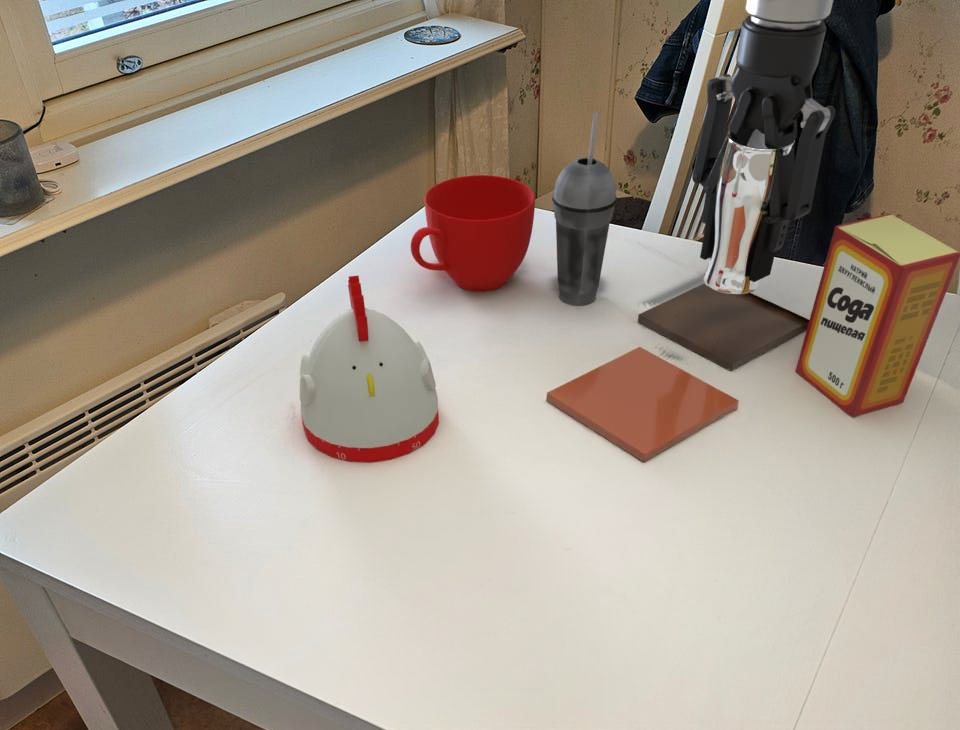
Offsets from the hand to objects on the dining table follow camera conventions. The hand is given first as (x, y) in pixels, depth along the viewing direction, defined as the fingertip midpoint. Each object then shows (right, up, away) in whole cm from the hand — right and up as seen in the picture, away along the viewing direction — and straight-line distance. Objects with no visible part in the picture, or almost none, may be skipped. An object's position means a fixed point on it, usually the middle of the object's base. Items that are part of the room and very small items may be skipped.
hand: (734, 265), depth 99 cm
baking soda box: (+11, -15, -3) cm, 19 cm away
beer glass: (0, -1, +2) cm, 2 cm away
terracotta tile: (-11, -17, -5) cm, 21 cm away
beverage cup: (-16, 0, +10) cm, 19 cm away
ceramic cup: (-29, +3, +13) cm, 32 cm away
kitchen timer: (-39, -19, -6) cm, 44 cm away
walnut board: (0, -5, +5) cm, 7 cm away
